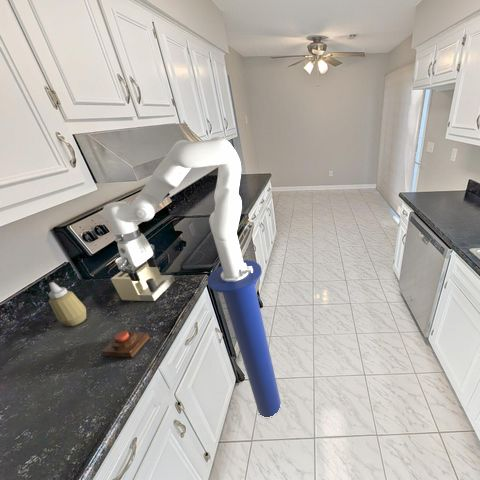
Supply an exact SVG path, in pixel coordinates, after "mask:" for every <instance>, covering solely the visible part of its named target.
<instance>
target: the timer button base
mask: <svg viewBox="0 0 480 480" xmlns="http://www.w3.org/2000/svg"><path fill="white" fill-rule="evenodd" d="M126 331H128V333H129V335H130V337H129V338H128V339H127V340H126V341H124V342H121V343H117V342H116V340H115V338H114V337H113V338H112V339H111V340H110V342H109V343H108V344H107V345H106V346H105V347H104V348H103V349H102V350H101V351H100V352H101V353H102V355H103V356H104V357H118V358H133V357H134V356H135V355H136V354H137V353H138V352H139V350H140V349H141V348H142V347H143V346H144V345H145V344H146V342H147V341H149V339H150V338H151V336H150V334H149V332H141V331H140V332H138V331H134V330H133V329H127V330H126Z"/></svg>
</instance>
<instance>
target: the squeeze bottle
mask: <svg viewBox="0 0 480 480" xmlns="http://www.w3.org/2000/svg"><path fill="white" fill-rule="evenodd" d="M48 285H49V289H50V291H49V292H48V297H49V300H48V303H49V305H50V307H51V309H52V311H53V314H54V315H55V317H56V319H57V321H58V322H60V323H61V324H63V325H65V326H66V327H74V326H78V325H79V324H81V323H83V322H85V320H86V319H87V307H86V305H84V304H83V302H82V301H81V300H80V299H79V298H78V297H77V296H76V294H74V292H73V291H71V290H67V288H66V287H65V286H59V285H58V284H57V283H55V282H54V281H50V282H49V283H48Z"/></svg>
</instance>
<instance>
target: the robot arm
mask: <svg viewBox="0 0 480 480" xmlns="http://www.w3.org/2000/svg"><path fill="white" fill-rule="evenodd" d="M241 163H242V162H241V159H240V157H239V155H238V152H237V151H236V149H235V148H234V147H233V145H232V143H231V142H230V141H229V140H227V139H225V138H223V137H221V136H214V137H212V138H210V139H206V140H195V141H192V140H191V141H190V140H187V139H180V140H178V141H177V142H175V143H174V144H173V146H172V147H171V148H170V149H169V150H168V153H166V154H165V156H164V157H163V159H162V161H160V163H159V164H158V166H157V167H156V168H155V170H154V171H153V173H152V174H151V177H150V178H149V180H148V181H147V182H146V184H145V185H144V187H143V188H142V189H141V190H140V192H139V193H138V195H137V196H136V197H135V198H134V200H133V201H132V202H130V203H128V202H126V201H114V202H110V203H107V204H105V205H104V206H103V208H102V210H103V213H104V215H105V217H106V220H107V221H108V224H109V226H110V228H111V231H112V232H113V235H114V237H115V239H114V241H115V242H116V244H117V249H118V253H119V257H121V258H122V262H121V264H120V266H119V267H118V266H117V267H118V268H117V269H118V270H119V271H120V270H121V271H122V272H123V273H128V274H129V276H130V278H131V280H132V281H140V278H139V276H138V274H137V272H135V268H136V267H137V266H139V265H141V264H142V263H144V262H145V261H146V260H147V263H148V265H149V267H158V264H157V262H156V260H155V257H156V255H155V253H156V251H155V245H154V244H150V243H149V240H148V239H147V238H146V237H145V235H144V234H143V233H142V232H141V230H140V228H139V225H138V223H143V222H149V221H151V220H152V219H153V218H154V216H155V215H156V212H157V208H158V207H159V206H160V205H161V203H162V201H164V199H165V198H166V197H167V195H168V194H169V193H170V192H171V191H173V190H175V189H176V188H177V187H179V185H180V184H181V182H182V181H183V180H184V178H185V177H186V176H187V174H188V173H189V172H190V171H191V169H196V168H204V167H205V168H206V167H213V166H217V168H218V169H217V170H218V171H217V179H216V185H215V190H214V195H213V200H214V211H212V212H211V214H210V216H209V218H208V224H209V228H210V231H211V234H212V236H213V240H214V244H215V248H216V251H217V254H218V258H219V262H220V266H222V269H223V272H222V273H221V278H222V280H223V281H226V282H235V281H238V280H241V279H243V278H244V277H246V276H247V275H248V273H253V269H252V266H246V263H243V260H244V259H243V255H242V251H241V246H240V242H239V238H238V234H237V232H238V229H239V223H240V219H241V214H242V210H243V209H242V208H243V205H242V204H243V202H242V198H241V196H240V194H239V191H240V184H241V176H242V164H241ZM125 266H127V267H126V268H125ZM130 267H132V269H131V270H130ZM121 271H120V272H121Z"/></svg>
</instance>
